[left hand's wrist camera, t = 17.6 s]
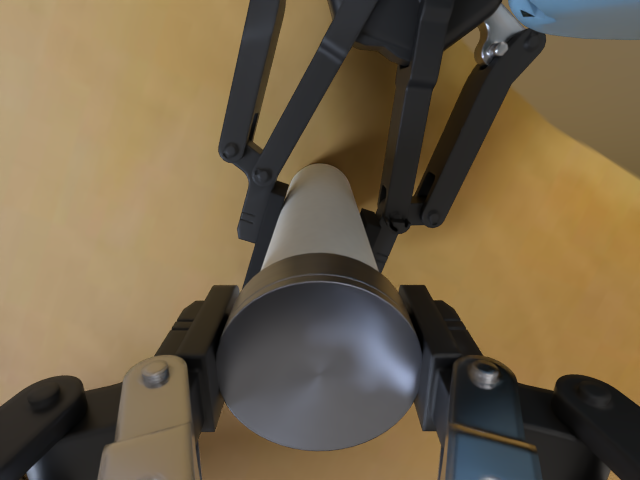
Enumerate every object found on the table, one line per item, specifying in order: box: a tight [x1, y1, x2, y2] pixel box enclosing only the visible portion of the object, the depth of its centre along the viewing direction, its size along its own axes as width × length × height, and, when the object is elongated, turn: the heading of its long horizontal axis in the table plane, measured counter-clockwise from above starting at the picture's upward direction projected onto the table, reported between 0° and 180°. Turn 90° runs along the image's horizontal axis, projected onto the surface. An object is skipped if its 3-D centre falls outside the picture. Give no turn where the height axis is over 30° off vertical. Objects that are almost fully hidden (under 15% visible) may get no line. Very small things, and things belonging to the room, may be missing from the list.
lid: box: [216, 253, 422, 451], centre depth 10 cm, size 5×5×2 cm
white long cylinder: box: [261, 163, 378, 271], centre depth 18 cm, size 4×4×18 cm
